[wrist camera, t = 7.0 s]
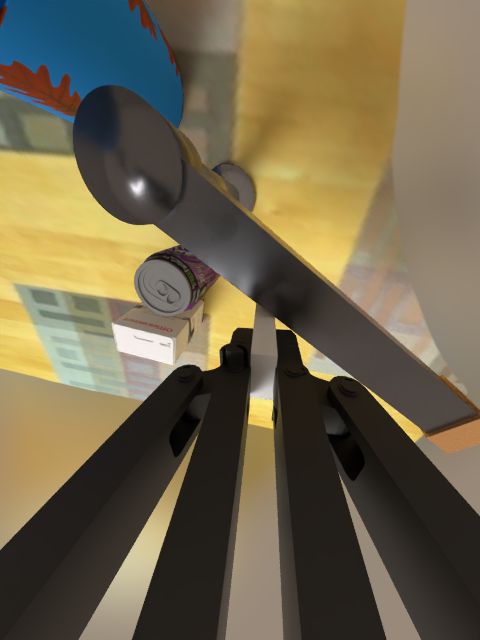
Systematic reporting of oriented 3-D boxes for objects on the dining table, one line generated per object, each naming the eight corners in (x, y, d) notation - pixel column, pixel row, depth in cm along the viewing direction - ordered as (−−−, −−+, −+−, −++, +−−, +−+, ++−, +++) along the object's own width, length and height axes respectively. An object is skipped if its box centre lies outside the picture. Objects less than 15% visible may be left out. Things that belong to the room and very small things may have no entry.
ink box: (159, 313, 36) (114, 352, 26) (158, 289, 34) (108, 321, 24) (202, 323, 36) (174, 367, 26) (204, 299, 33) (174, 337, 23)
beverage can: (231, 265, 30) (208, 292, 19) (203, 293, 33) (170, 330, 22) (196, 229, 28) (151, 238, 18) (170, 262, 31) (118, 287, 21)
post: (196, 173, 25) (91, 118, 10) (250, 158, 23) (212, 69, 9) (210, 232, 28) (144, 251, 14) (258, 222, 26) (239, 232, 12)
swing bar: (122, 189, 12) (64, 180, 8) (148, 103, 10) (85, 47, 6) (410, 413, 17) (443, 460, 13) (468, 388, 15) (523, 437, 11)
